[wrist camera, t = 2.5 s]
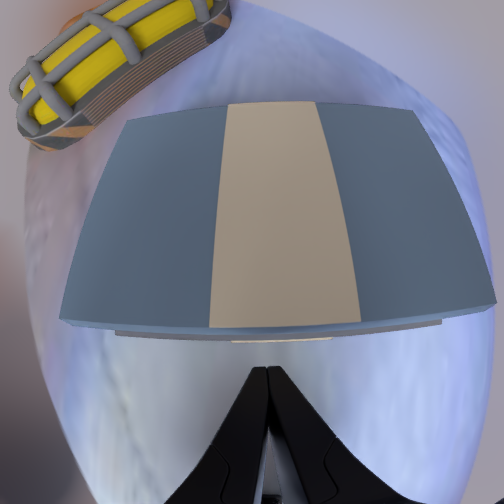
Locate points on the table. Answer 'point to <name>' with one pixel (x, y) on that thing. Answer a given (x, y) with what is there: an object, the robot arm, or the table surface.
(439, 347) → the table surface
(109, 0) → the cage light
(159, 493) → the table surface
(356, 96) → the table surface
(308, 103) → the lid
